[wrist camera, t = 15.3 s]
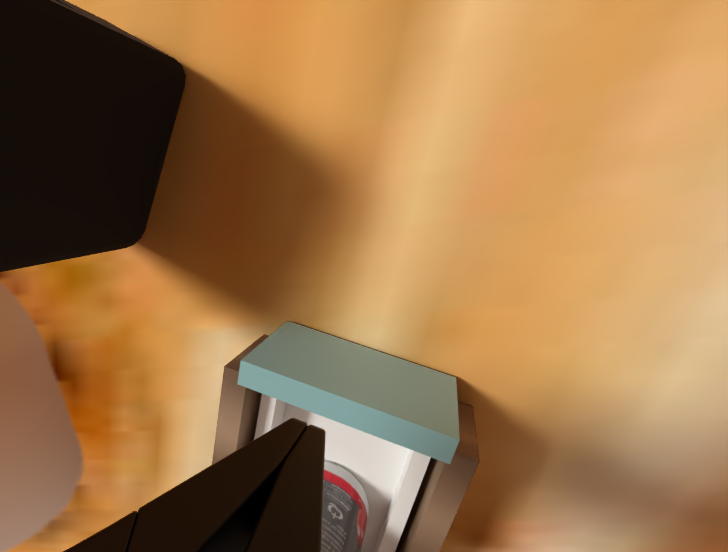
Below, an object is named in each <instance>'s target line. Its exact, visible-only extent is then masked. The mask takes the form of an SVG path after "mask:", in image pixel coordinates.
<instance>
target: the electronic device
mask: <svg viewBox="0 0 728 552" xmlns="http://www.w3.org/2000/svg"><path fill="white" fill-rule="evenodd" d="M184 86H185V73H184V70H183V67H182V65H181V64H180V63H179V62H178V61H177V60H175V59H174V58H172V57H170V56H168V55H167V54H165V53H163V52H161V51H159V50H158V49H156V48H154V47H152V46H150V45H149V44H147V43H145V42H143V41H141V40H140V39H138V38H136V37H134V36H132V35H131V34H129V33H127V32H125V31H124V30H122V29H120V28H118V27H116V26H115V25H113V24H111V23H109V22H107V21H106V20H104V19H102V18H100V17H97V16H95V15H93V14H91V13H89V12H87V11H85V10H83V9H81V8H79V7H77V6H75V5H73V4H71V3H69V2H67V1H65V0H0V272H3V271H8V270H13V269H18V268H24V267H29V266H34V265H39V264H45V263H50V262H55V261H60V260H65V259H71V258H76V257H81V256H86V255H92V254H97V253H102V252H107V251H113V250H118V249H123V248H127V247H129V246H132V245H134V244H135V243H136V242H137V241H138V240H139V239H141V237H142V235H143V233H144V231H145V227H146V223H147V220H148V216H149V213H150V209H151V205H152V202H153V198H154V195H155V191H156V187H157V184H158V180H159V176H160V173H161V169H162V166H163V162H164V158H165V155H166V151H167V148H168V144H169V140H170V137H171V133H172V129H173V126H174V122H175V119H176V115H177V111H178V108H179V104H180V101H181V97H182V93H183V90H184Z"/></svg>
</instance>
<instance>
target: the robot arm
mask: <svg viewBox="0 0 728 552" xmlns="http://www.w3.org/2000/svg"><path fill="white" fill-rule="evenodd" d="M325 435H326V432H325V430H324V429H322V428H319V427H317V426H314V425H309V426H308V424H307V423H306V422H304V421H301V420H299V419H296V418H290V419H288V420H287V421H285V422H283V423H282V424H280V425H278V426H277V427H275V428H273V429H272V430H270V431H268V432H267V433H265V434H263V435H262V436H260V437H258V438H257V439H255V440H253V441H251V442H250V443H248V444H246V445H245V446H243V447H241V448H240V449H238V450H236V451H235V452H233V453H231V454H230V455H228V456H226V457H225V458H223V459H221V460H220V461H218V462H216V463H214V464H213V465H211V466H209V467H208V468H206V469H204V470H203V471H201V472H199V473H198V474H196V475H194V476H193V477H191V478H189V479H188V480H186V481H184V482H183V483H181V484H179V485H177V486H176V487H174V488H172V489H171V490H169V491H167V492H166V493H164V494H162V495H161V496H159V497H157V498H156V499H154V500H152V501H151V502H149V503H147V504H146V505H144V506H142V507H141V508H139V510H138V512H137V511H133V512H132V513H130V514H128V515H127V516H125V517H123V518H122V519H120V520H118V521H117V522H115V523H113V524H112V525H110V526H108V527H106V528H105V529H103V530H101V531H99V532H97V533H96V534H94V535H92V536H90V537H89V538H87V539H85V540H83V541H82V542H80V543H78V544H76V545H75V546H73V547H71V548H69V549H67V550H65V551H63V552H321V536H322V511H323V486H324V461H325Z"/></svg>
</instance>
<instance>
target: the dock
mask: <svg viewBox="0 0 728 552" xmlns="http://www.w3.org/2000/svg"><path fill="white" fill-rule="evenodd" d="M268 337H269V336H267V335H263V336H261V337H260V338H259V339H258V340H256V341H255V342H254V343H253V344H251V345H250V346H249V347H248V348H247V349H245V350H244V351H243V352H242V353H240V354H239V355H238V356H237V357H235V358H234V359H233V360H232V361H230V362H229V363H228V364H227V365H226V366H224V374H223V382H222V390H221V398H220V406H219V414H218V421H217V429H216V437H215V445H214V453H213V461H212V465H213V464H214V463H216V462H218V461H220V460H221V459H223V458H225V457H226V456H228V455H230V454H231V453H233V452H235V451H236V450H238V449H240V448H241V447H243V446H245V445H246V444H248V443H250V442H251V441H253V440H254V437H255V431H256V425H257V420H258V414H259V408H260V402H261V396H262V393H259V392H257V391H254V390H252V389H249V388H246V387H244V386H241V385H238V384H237V383H238V376H239V369H240V362H241V360H242V359H243V358H244V357H245V356H246V355H248V354H249V353H250V352H251V351H252V350H253V349H255V348H256V347H257V346H258V345H259V344H261V343H262V342H263V341H264V340H265V339H266V338H268ZM458 418H459V437H460V441H459V443H458V445H457V448H456V450H455V453H454V455H453V458H452V460H451V463H450V464H447V463H445V462H442V461H439V460H437V459H434V458H432V457H431V459H430V461H429V464H428V467H427V469H426V472H425V474H424V477H423V480H422V482H421V485H420V488H419V490H418V493H417V495H416V498H415V501H414V503H413V506H412V509H411V511H410V514H409V516H408V519H407V522H406V524H405V527H404V530H403V532H402V535H401V537H400V540H399V543H398V545H397V548H396V551H395V552H440V550H441V547H442V545H443V543H444V541H445V538H446V536H447V534H448V531H449V529H450V527H451V525H452V522H453V520H454V518H455V515H456V513H457V511H458V509H459V506H460V504H461V502H462V500H463V497H464V495H465V493H466V490H467V488H468V486H469V484H470V481H471V479H472V477H473V474H474V472H475V470H476V468H477V465H478V463H479V454H478V446H477V437H476V429H475V421H474V413H473V407H472V406H469V405H466V404H463V403H460V402H458Z"/></svg>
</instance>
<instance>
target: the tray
mask: <svg viewBox="0 0 728 552" xmlns="http://www.w3.org/2000/svg"><path fill="white" fill-rule="evenodd" d="M237 384H238V385H241V386H244V387H246V388H249V389H252V390H254V391H257V392H259V393H262V396H261V402H260V408H259V414H258V420H257V425H256V431H255V437H254V440H255V439H257V438H258V437H260V436H262V435H263V434H265V433H267V432H268V431H270V430H272V429H273V428H275V427H277V426H278V425H280V424H282V423H283V422H285V421H287V420H288V419H290V418H296V419H299V420H301V421H304V422H306V423H307V424H308V426H309V425H314V426H317V427H319V428H322V429H324V430H325V432H326V435H325V461H327V462H330V463H333V464H335V465H338V466H340V467H342V468H344V469H345V470H347V471H348V472H350V473H351V474H352V475H353V476H354V477H355V478H356V479H357V481H358V482H359V483H360V484H361V486H362V487H363V489H364V491H365V493H366V496H367V500H368V505H369V515H368V521H367V525H366V530H365V535H364V539H363V543H362V547H361V552H395V551H396V548H397V545H398V543H399V540H400V537H401V535H402V532H403V530H404V527H405V524H406V522H407V519H408V516H409V514H410V511H411V509H412V506H413V503H414V501H415V498H416V495H417V493H418V490H419V488H420V485H421V482H422V480H423V477H424V474H425V472H426V469H427V467H428V464H429V461H430V459H431V457H432V458H434V459H437V460H439V461H442V462H445V463H447V464H450V463H451V460H452V458H453V455H454V453H455V450H456V448H457V445H458V443H459V441H460V437H459V418H458V400H457V382H456V377H453V376H450V375H447V374H444V373H441V372H439V371H436V370H433V369H430V368H427V367H424V366H421V365H418V364H415V363H412V362H409V361H406V360H403V359H400V358H397V357H394V356H391V355H388V354H385V353H382V352H379V351H376V350H373V349H370V348H367V347H364V346H361V345H358V344H355V343H352V342H349V341H346V340H343V339H340V338H337V337H334V336H332V335H329V334H326V333H323V332H320V331H317V330H314V329H311V328H308V327H305V326H302V325H299V324H296V323H293V322H290V321H287V322H285V323H284V324H283V325H282V326H281V327H279V328H278V329H277V330H276V331H275V332H274V333H272V334H271V335H270V336H269V337H268V338H266V339H265V340H264V341H263V342H262V343H261V344H259V345H258V346H257V347H256V348H255V349H253V350H252V351H251V352H250V353H249V354H248V355H246V356H245V357H244V358H243V359H242V360H241V362H240V369H239V376H238V383H237Z"/></svg>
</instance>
